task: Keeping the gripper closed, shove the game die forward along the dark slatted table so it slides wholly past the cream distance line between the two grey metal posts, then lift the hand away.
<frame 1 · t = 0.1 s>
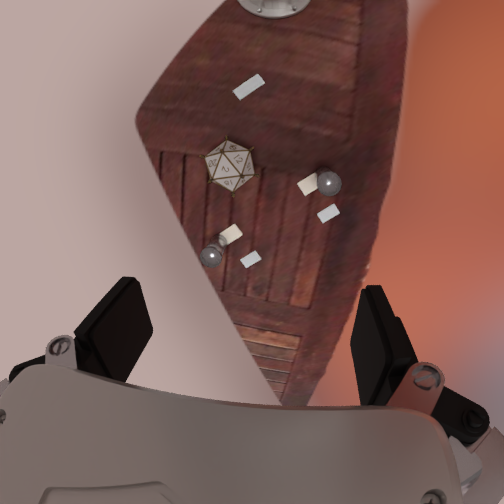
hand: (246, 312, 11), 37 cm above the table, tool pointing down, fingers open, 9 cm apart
game die: (234, 162, 45), on the table
distance lines: (269, 209, 48), on the table
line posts: (269, 209, 48), on the table
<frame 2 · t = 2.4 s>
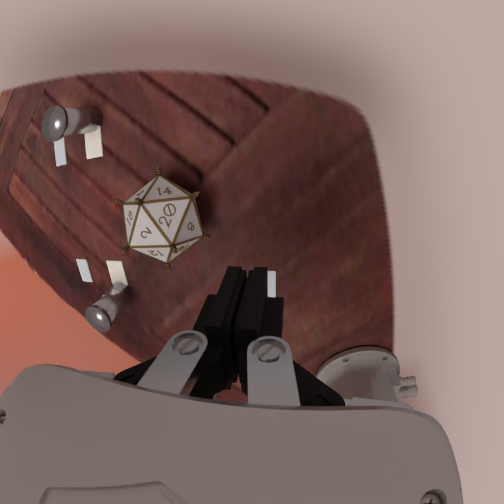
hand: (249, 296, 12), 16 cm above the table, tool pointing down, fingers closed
game die: (178, 206, 28), on the table
distance lines: (103, 211, 29), on the table
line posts: (103, 211, 29), on the table
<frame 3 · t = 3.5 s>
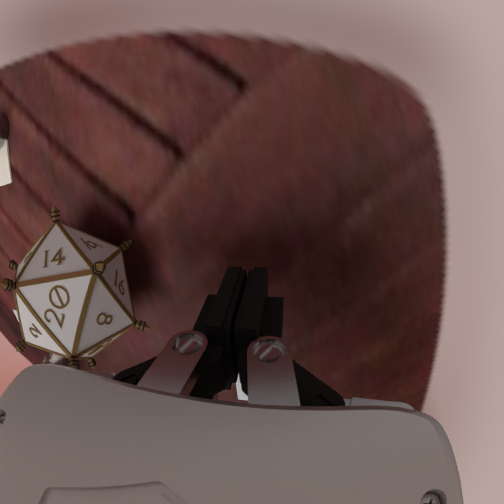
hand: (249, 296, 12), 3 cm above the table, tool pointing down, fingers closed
game die: (107, 261, 17), on the table
distance lines: (24, 257, 18), on the table
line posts: (24, 257, 18), on the table
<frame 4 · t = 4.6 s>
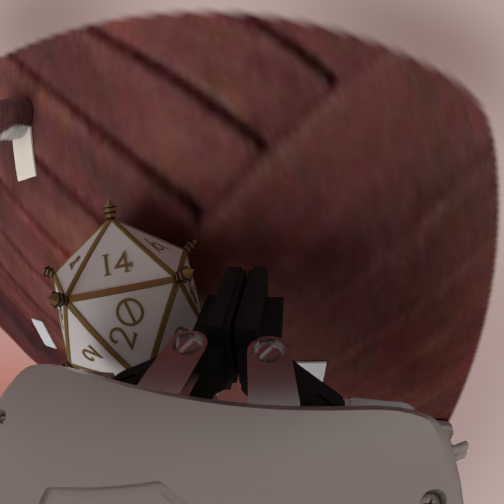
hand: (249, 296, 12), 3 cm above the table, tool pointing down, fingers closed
game die: (160, 264, 16), on the table, touching gripper
distance lines: (49, 261, 17), on the table
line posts: (49, 261, 17), on the table
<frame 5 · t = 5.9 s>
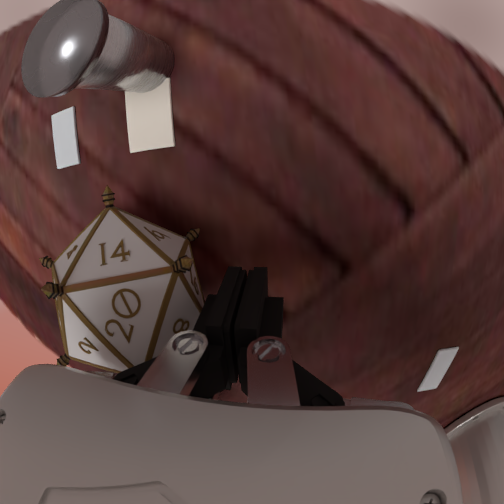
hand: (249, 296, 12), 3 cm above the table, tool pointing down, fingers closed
game die: (163, 253, 15), on the table, touching gripper
distance lines: (170, 265, 15), on the table
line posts: (170, 265, 15), on the table
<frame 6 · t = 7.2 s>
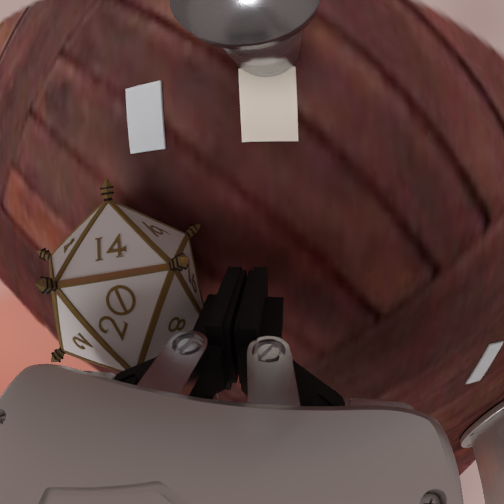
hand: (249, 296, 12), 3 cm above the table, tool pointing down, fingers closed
game die: (162, 248, 15), on the table, touching gripper
distance lines: (273, 269, 15), on the table
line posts: (273, 269, 15), on the table
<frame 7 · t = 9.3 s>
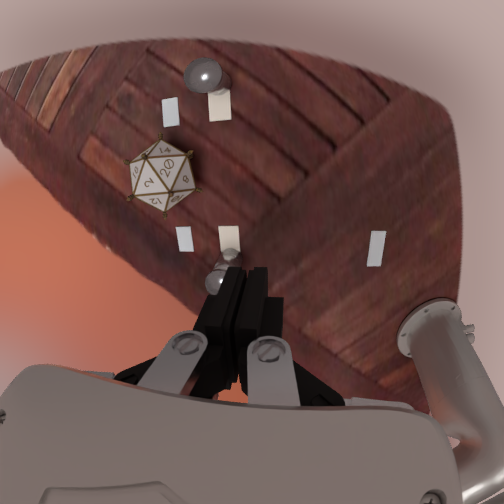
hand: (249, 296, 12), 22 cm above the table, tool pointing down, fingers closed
game die: (175, 168, 33), on the table
distance lines: (224, 174, 32), on the table
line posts: (224, 174, 32), on the table
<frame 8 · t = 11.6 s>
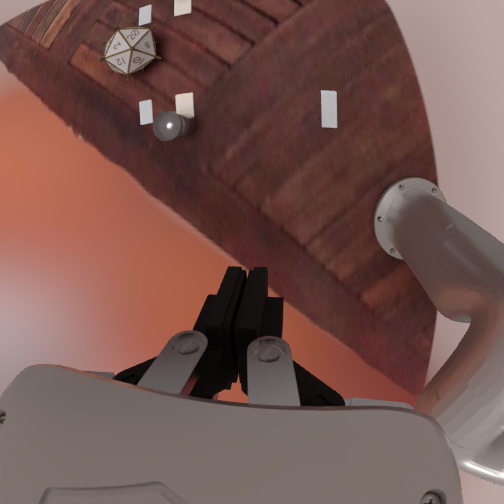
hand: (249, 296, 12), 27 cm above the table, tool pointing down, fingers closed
game die: (144, 54, 30), on the table
distance lines: (183, 51, 30), on the table
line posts: (183, 51, 30), on the table
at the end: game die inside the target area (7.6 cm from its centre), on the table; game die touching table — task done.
